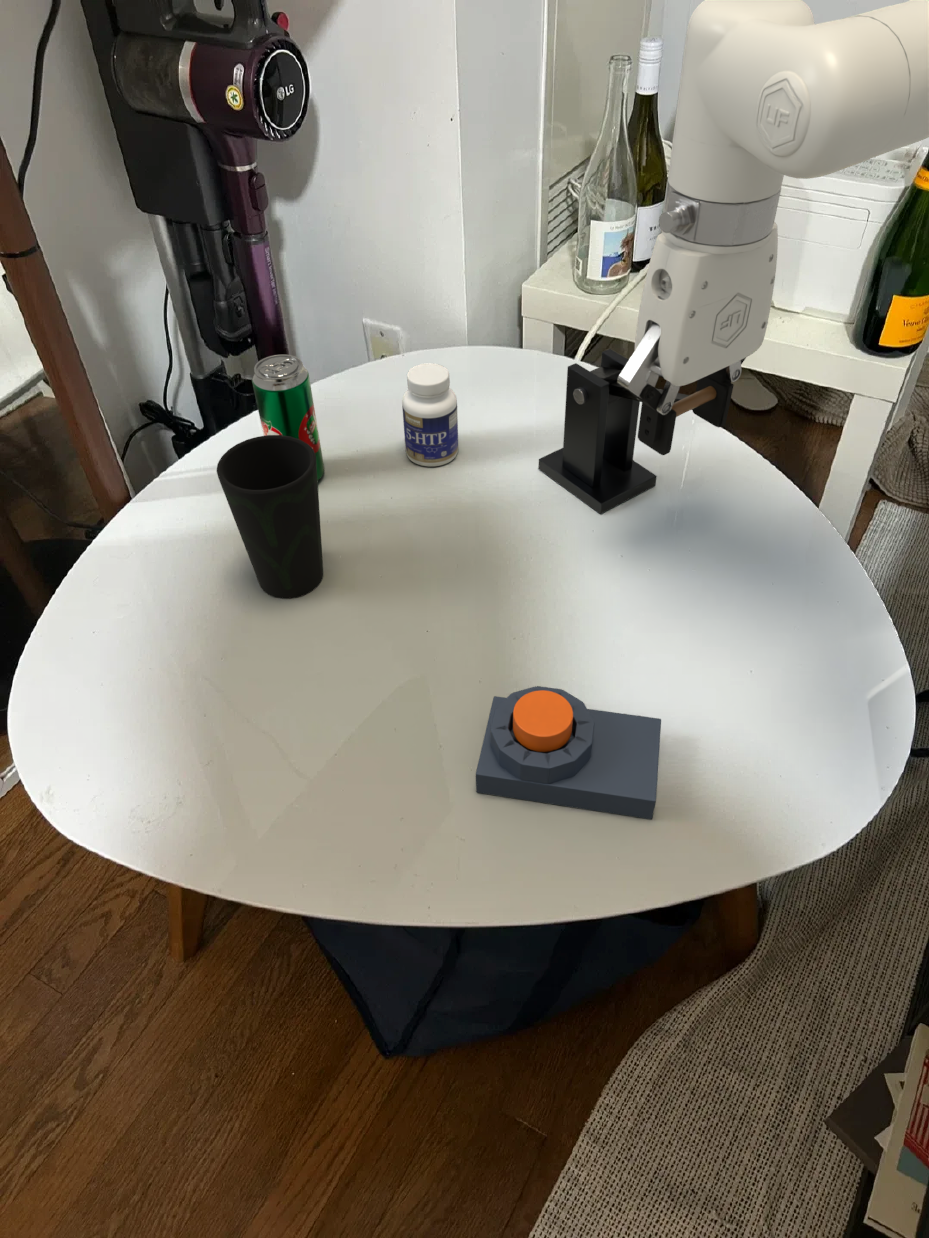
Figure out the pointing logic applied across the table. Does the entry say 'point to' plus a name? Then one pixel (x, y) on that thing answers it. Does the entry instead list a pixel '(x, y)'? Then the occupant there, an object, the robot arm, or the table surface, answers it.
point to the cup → (276, 511)
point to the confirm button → (542, 721)
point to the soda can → (287, 401)
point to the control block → (574, 760)
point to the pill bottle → (430, 416)
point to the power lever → (681, 402)
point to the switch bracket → (598, 442)
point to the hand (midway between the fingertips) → (681, 431)
